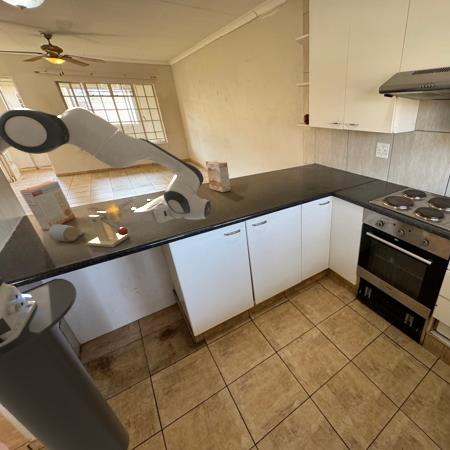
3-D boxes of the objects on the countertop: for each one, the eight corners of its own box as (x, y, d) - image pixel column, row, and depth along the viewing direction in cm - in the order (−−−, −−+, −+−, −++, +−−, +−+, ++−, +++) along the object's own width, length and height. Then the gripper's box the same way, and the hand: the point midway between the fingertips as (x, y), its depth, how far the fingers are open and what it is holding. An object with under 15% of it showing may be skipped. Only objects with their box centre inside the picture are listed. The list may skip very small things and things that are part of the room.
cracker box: (65, 217, 135) (47, 180, 125) (76, 217, 135) (58, 180, 125) (40, 229, 123) (18, 190, 113) (52, 230, 122) (30, 190, 113)
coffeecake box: (209, 188, 176) (205, 161, 168) (218, 186, 181) (214, 159, 173) (222, 192, 168) (218, 163, 160) (231, 190, 173) (227, 161, 165)
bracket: (128, 236, 116) (118, 210, 110) (113, 247, 108) (101, 219, 102) (105, 235, 117) (94, 209, 111) (89, 245, 110) (75, 217, 103)
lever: (128, 234, 112) (130, 228, 110) (122, 238, 109) (124, 232, 107) (99, 216, 109) (100, 211, 108) (91, 220, 106) (93, 214, 105)
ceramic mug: (68, 245, 110) (60, 229, 106) (52, 243, 111) (44, 228, 107) (89, 233, 119) (83, 219, 116) (74, 232, 120) (67, 218, 117)
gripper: (183, 191, 108) (154, 190, 109) (153, 210, 90) (119, 208, 91) (186, 204, 111) (158, 203, 112) (157, 225, 93) (124, 223, 94)
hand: (140, 205), depth 102 cm, fingers open, 8 cm apart
